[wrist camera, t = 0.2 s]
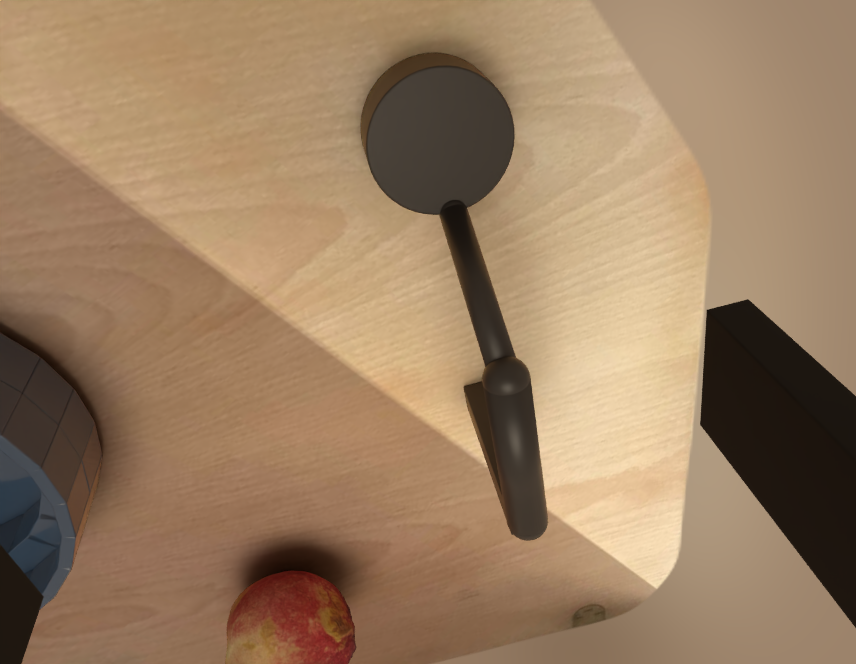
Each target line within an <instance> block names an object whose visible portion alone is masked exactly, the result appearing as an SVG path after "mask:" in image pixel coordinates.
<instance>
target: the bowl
mask: <svg viewBox="0 0 856 664" xmlns="http://www.w3.org/2000/svg"><path fill="white" fill-rule="evenodd" d="M101 461H102V452H101V447H100V443H99V439H98V434H97V430H96V426H95V423H94V420H93V418H92V416H91V415H90V413H89V412H88V410H87V408H86V407H85V405H84V403H83V402H82V400H81V399H80V397H79V395H78V394H77V392H76V390H75V389H73V387H72V386H71V385H70V384H69V383H68V382H67V381H66V380H64V379H63V378H62V377H61V376H60V375H59V374H58V373H57V372H56V371H55V370H54V369H53V368H52V367H51V366H50V365H49V364H48V363H47V362H45V361H44V360H43V359H42V358H40V356H38V355H37V354H35V353H33V352H32V351H30V350H28V349H27V348H25V347H23V346H22V345H20V344H18V343H17V342H15V341H13V340H12V339H10V338H8V337H7V336H5V335H3V334H2V333H0V545H1V546H2V547H3V548H4V549H5V551H6V552H7V553H8V554H9V555H10V557H11V558H12V559H13V560H14V561H15V563H16V564H17V565H18V566H19V567H20V569H21V570H22V571H23V572H24V573H25V575H26V576H27V577H28V578H29V579H30V581H31V582H32V583H33V584H34V585H35V587H36V588H37V589H38V590H39V591H40V593H41V594H42V595H43V596H44V598H43V601H42V604H41V607H40V609H41V608H43V607H44V606H45V605H46V604H47V603H48V602H50V601H51V600H52V599H53V598H54V597H55V596H56V595H57V593H58V591H59V590H60V588H61V586H62V585H63V583H64V581H65V580H66V578H67V576H68V574H69V573H70V571H71V569H72V567H73V564H74V560H75V557H76V554H77V551H78V547H79V544H80V541H81V538H82V535H83V531H84V528H85V525H86V522H87V518H88V515H89V512H90V509H91V505H92V502H93V499H94V496H95V492H96V489H97V486H98V481H99V474H100V468H101Z"/></svg>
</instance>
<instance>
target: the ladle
mask: <svg viewBox="0 0 856 664" xmlns="http://www.w3.org/2000/svg"><path fill="white" fill-rule="evenodd" d="M361 138H362V143H363V147H364V151H365V154H366V157H367V161H368V164H369V167H370V170H371V173H372V175H373V177H374V179H375V181H376V182H377V184H378V185H379V187H380V188H381V189H382V190H383V192H384V193H385V194H386V195H387V196H388V197H389V198H391V199H392V200H393V201H394V202H396V203H397V204H399V205H400V206H402V207H404V208H407V209H409V210H412V211H415V212H418V213H423V214H433V215H438V214H440V219H441V222H442V226H443V229H444V232H445V235H446V239H447V242H448V245H449V248H450V252H451V255H452V258H453V262H454V265H455V268H456V271H457V275H458V278H459V281H460V285H461V288H462V291H463V294H464V298H465V301H466V304H467V308H468V311H469V314H470V317H471V321H472V324H473V327H474V331H475V334H476V337H477V340H478V344H479V347H480V350H481V354H482V357H483V360H484V363H485V369H484V372H483V376H482V382H480V383H476V384H472V385H469V386H465V387H464V392H465V397H466V402H467V407H468V411H469V413H470V416H471V419H472V422H473V425H474V428H475V431H476V434H477V436H478V439H479V442H480V445H481V448H482V451H483V454H484V457H485V460H486V462H487V465H488V468H489V471H490V474H491V477H492V480H493V483H494V485H495V488H496V491H497V494H498V497H499V500H500V503H501V506H502V508H503V511H504V514H505V517H506V520H507V524H508V527H509V529H510V531H511V534H512V535H515V536H516V537H517V538H519V539H522V540H534V539H537V538H539V537H540V536H541V535H542V534H543V533H544V532H545V530H546V528H547V525H548V515H547V507H546V499H545V491H544V483H543V475H542V467H541V459H540V451H539V443H538V435H537V426H536V418H535V410H534V402H533V394H532V386H531V378H530V374H529V370H528V368H527V367H526V365H525V364H524V363H523V362H522V361H521V360H519V359H517V358H516V356H515V353H514V350H513V347H512V344H511V341H510V338H509V335H508V332H507V329H506V326H505V323H504V319H503V316H502V313H501V310H500V307H499V304H498V301H497V298H496V295H495V292H494V289H493V286H492V283H491V280H490V277H489V274H488V271H487V267H486V264H485V261H484V258H483V255H482V252H481V249H480V246H479V243H478V240H477V237H476V234H475V231H474V228H473V225H472V222H471V219H470V215H469V212H468V209H467V207H470V206H472V205H473V204H475V203H477V202H478V201H480V200H481V199H482V198H484V197H485V196H486V195H487V194H488V193H489V192H490V191H491V190H493V188H494V187H495V186H496V185H497V184H498V182H499V181H500V179H501V178H502V176H503V175H504V173H505V171H506V169H507V167H508V165H509V162H510V159H511V156H512V152H513V147H514V124H513V118H512V115H511V112H510V108H509V106H508V104H507V102H506V100H505V98H504V97H503V95H502V94H501V92H500V91H499V90H498V89H497V88H496V87H495V86H494V84H493V83H492V82H491V81H490V80H488V79H487V78H486V77H485V76H484V75H483V74H482V73H481V72H480V71H479V70H478V69H477V68H476V67H474V66H473V65H472V64H470V63H468V62H467V61H465V60H463V59H461V58H458V57H456V56H452V55H449V54H442V53H426V54H420V55H416V56H412V57H409V58H407V59H405V60H403V61H400V62H399V63H397V64H396V65H394V66H393V67H391V68H390V69H389V70H388V71H386V72H385V73H384V74H383V75H382V76H381V77H380V78H379V80H378V81H377V82H376V83H375V85H374V86H373V88H372V89H371V91H370V93H369V95H368V97H367V99H366V102H365V105H364V108H363V112H362V117H361Z"/></svg>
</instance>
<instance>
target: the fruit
mask: <svg viewBox="0 0 856 664" xmlns="http://www.w3.org/2000/svg"><path fill="white" fill-rule="evenodd" d="M354 631H355V626H354V623H353V621H352V616H351V614H350V609H349V607H348V605H347V603H346V601H345V599H344V597H343V596H342V594H341V592H340V591H339V590H338V589H337V588H336V587H335V586H334V585H333V584H332V583H330V582H329V581H327V580H325V579H324V578H322V577H319V576H317V575H315V574H312V573H309V572H306V571H284V572H281V573H276V574H272V575H270V576H267V577H265V578H262V579H261V580H259V581H257V582H255V583H253V584H252V585H250V586H249V587H248V588H246V589H245V590H244V591H243V592H242V593H241V594H240V595H239V596H238V598H237V599H236V601H235V602H234V604H233V606H232V608H231V611H230V615H229V619H228V623H227V641H228V642H227V653H226V661H225V664H348V663H349V661H350V659H351V658H352V655H353V653H354V652H355V650H356V644H355V634H354Z"/></svg>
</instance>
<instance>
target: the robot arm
mask: <svg viewBox="0 0 856 664" xmlns="http://www.w3.org/2000/svg"><path fill="white" fill-rule="evenodd" d="M704 353H705V354H704V369H703V388H702V405H701V421H700V425H701V426H702V427H703V429H704V430H705V431H706V433H707V434H708V435H709V436H710V438H711V439H712V441H713V442H714V443H715V445H716V446H717V447H718V448H719V450H720V451H721V452H722V454H723V455H724V456H725V457H726V459H727V460H728V461H729V463H730V464H731V465H732V466H733V468H734V469H735V470H736V472H737V473H738V475H739V476H740V477H741V479H742V480H743V481H744V482H745V484H746V485H747V486H748V488H749V489H750V490H751V492H752V493H753V494H754V496H755V497H756V498H757V499H758V501H759V502H760V503H761V505H762V506H763V507H764V509H765V510H766V511H767V512H768V513H769V515H770V516H771V518H772V519H773V520H774V521H775V523H776V524H777V525H778V527H779V528H780V529H781V531H782V532H783V533H784V535H785V536H786V537H787V539H788V540H789V541H790V543H791V544H792V545H793V546H794V548H795V549H796V550H797V552H798V553H799V554H800V556H802V558H803V559H804V561H805V562H806V563H807V565H808V566H809V567H810V569H811V570H812V571H813V573H814V574H815V575H816V577H817V578H818V579H819V580H820V582H821V583H822V584H823V586H824V587H825V588H826V590H827V591H828V592H829V593H830V595H831V596H832V597H833V599H834V600H835V601H836V603H837V604H838V605H839V606H840V608H841V609H842V611H843V612H844V613H845V614H846V616H847V617H848V618H849V620H850V621H851V622H852V624H853V625H854V626H855V627H856V396H855V395H854V394H853V393H852V392H850V391H849V390H848V389H847V388H846V387H845V386H844V385H843V384H841V383H840V382H839V381H838V380H837V379H836V378H835V377H834V376H833V375H832V374H830V373H829V372H828V371H827V370H826V369H825V368H824V367H823V366H822V365H821V364H819V363H818V362H817V361H816V360H815V359H814V358H813V357H812V356H811V355H809V354H808V353H807V352H806V351H805V350H804V349H803V348H802V347H801V346H799V345H798V344H797V343H796V342H795V341H794V340H793V339H792V338H791V337H789V336H788V335H787V334H786V333H785V332H784V331H783V330H782V329H781V328H779V327H778V326H777V325H776V324H775V323H774V322H773V321H772V320H770V319H769V318H768V317H767V316H766V315H765V314H764V313H763V312H762V311H761V310H759V309H758V308H757V307H756V306H755V305H754V304H753V303H752V302H751V301H749V300H744V301H740V302H736V303H732V304H729V305H724V306H721V307H716V308H713V309H709V310H707V318H706V334H705V351H704ZM43 598H44V596H43V595H42V594H41V593H40V591H39V590H38V589H37V588H36V587H35V585H34V584H33V583H32V582H31V581H30V579H29V578H28V577H27V576H26V575H25V573H24V572H23V571H22V570H21V569H20V567H19V566H18V565H17V564H16V563H15V561H14V560H13V559H12V558H11V557H10V555H9V554H8V553H7V552H6V551H5V549H4V548H3V547H2V546H1V545H0V664H21V663H22V660H23V657H24V654H25V651H26V648H27V645H28V642H29V639H30V636H31V633H32V630H33V627H34V624H35V622H36V619H37V616H38V613H39V610H40V607H41V604H42V601H43Z"/></svg>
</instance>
